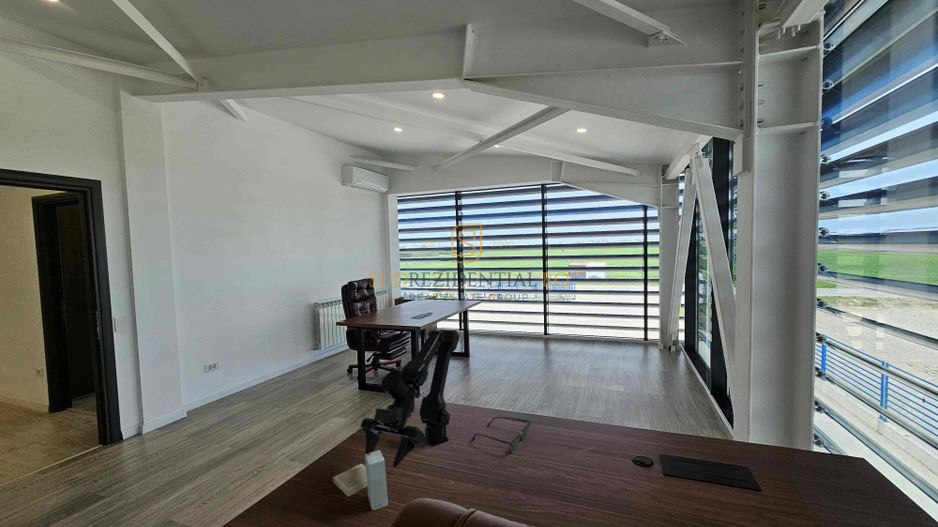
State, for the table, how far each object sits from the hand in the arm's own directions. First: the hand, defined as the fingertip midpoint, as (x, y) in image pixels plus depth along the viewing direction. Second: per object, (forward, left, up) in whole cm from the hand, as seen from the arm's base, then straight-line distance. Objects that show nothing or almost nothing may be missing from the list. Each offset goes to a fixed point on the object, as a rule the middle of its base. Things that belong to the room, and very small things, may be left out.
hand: (379, 463), depth 96 cm
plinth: (+3, -11, -9) cm, 15 cm away
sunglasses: (-44, -3, -10) cm, 45 cm away
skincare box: (+1, +1, -10) cm, 10 cm away
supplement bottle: (-29, -44, -10) cm, 53 cm away
